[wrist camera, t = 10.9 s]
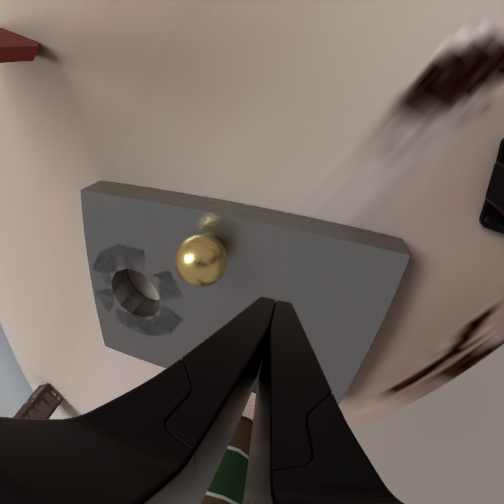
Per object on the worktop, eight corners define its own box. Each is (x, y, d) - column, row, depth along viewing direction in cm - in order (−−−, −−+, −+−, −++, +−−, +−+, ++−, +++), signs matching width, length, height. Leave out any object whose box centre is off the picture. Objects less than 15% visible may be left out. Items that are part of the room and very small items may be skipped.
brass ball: (236, 231, 19) (221, 255, 16) (231, 275, 21) (216, 303, 18) (187, 221, 20) (165, 242, 17) (186, 264, 21) (166, 289, 18)
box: (47, 381, 42) (12, 427, 32) (64, 398, 44) (32, 445, 33) (37, 384, 45) (5, 425, 34) (53, 400, 46) (23, 442, 36)
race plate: (401, 238, 20) (410, 255, 18) (337, 387, 27) (336, 407, 25) (100, 180, 22) (80, 190, 20) (117, 330, 30) (105, 345, 28)
